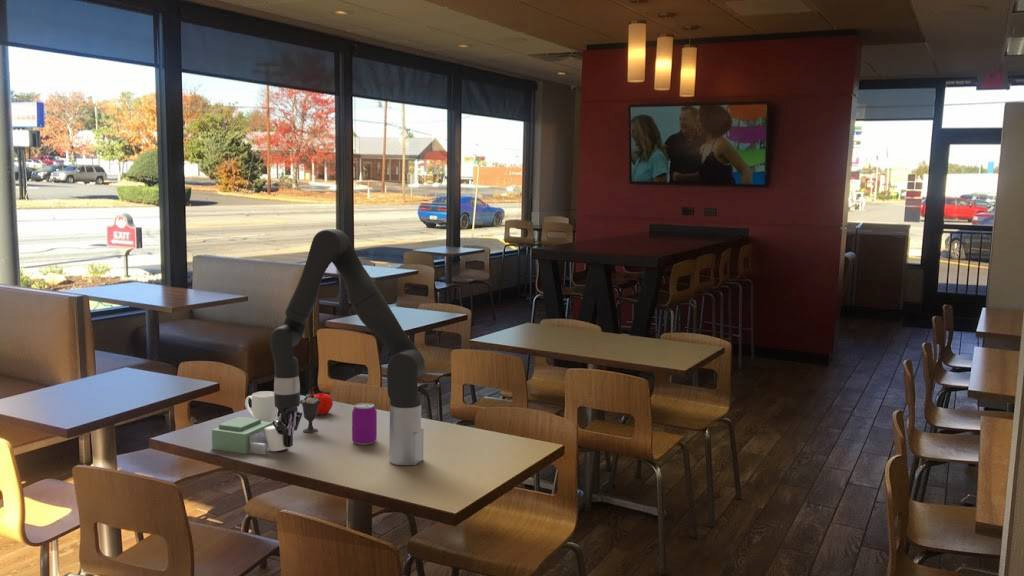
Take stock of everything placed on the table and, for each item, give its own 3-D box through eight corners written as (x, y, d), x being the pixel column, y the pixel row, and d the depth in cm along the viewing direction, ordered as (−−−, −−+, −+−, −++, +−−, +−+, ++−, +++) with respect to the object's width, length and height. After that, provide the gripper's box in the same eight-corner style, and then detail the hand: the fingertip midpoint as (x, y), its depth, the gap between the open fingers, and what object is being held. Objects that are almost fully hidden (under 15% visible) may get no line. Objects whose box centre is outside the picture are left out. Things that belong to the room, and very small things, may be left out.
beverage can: (367, 437, 270) (367, 400, 268) (381, 442, 264) (381, 405, 263) (347, 441, 264) (347, 404, 263) (361, 447, 259) (361, 409, 258)
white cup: (278, 452, 250) (275, 429, 249) (262, 451, 253) (259, 428, 253) (295, 446, 256) (292, 423, 255) (278, 445, 259) (276, 423, 259)
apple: (306, 415, 293) (306, 395, 292) (315, 410, 301) (315, 390, 300) (327, 417, 292) (327, 396, 291) (336, 411, 299) (336, 391, 299)
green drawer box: (272, 440, 263) (272, 418, 262) (245, 453, 250) (245, 430, 249) (240, 436, 267) (240, 414, 266) (212, 448, 254) (211, 425, 253)
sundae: (315, 434, 271) (315, 389, 269) (296, 432, 272) (296, 388, 271) (324, 429, 277) (324, 385, 276) (305, 427, 279) (305, 383, 277)
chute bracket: (286, 444, 260) (286, 428, 260) (264, 454, 249) (264, 438, 249) (270, 441, 262) (270, 426, 261) (248, 452, 251) (247, 436, 251)
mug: (283, 425, 280) (282, 392, 279) (266, 432, 272) (266, 398, 271) (254, 421, 285) (254, 388, 283) (237, 427, 277) (237, 393, 276)
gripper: (285, 396, 244) (286, 454, 246) (309, 387, 256) (310, 441, 258) (263, 394, 246) (264, 451, 248) (288, 385, 259) (289, 439, 261)
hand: (288, 446), depth 253 cm, fingers closed
